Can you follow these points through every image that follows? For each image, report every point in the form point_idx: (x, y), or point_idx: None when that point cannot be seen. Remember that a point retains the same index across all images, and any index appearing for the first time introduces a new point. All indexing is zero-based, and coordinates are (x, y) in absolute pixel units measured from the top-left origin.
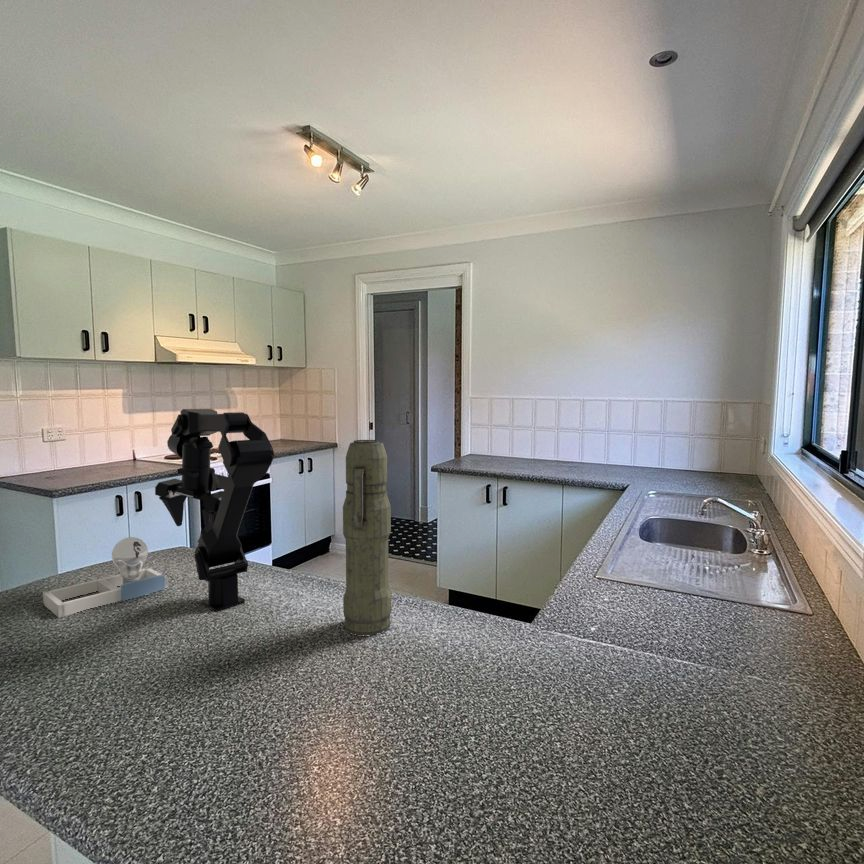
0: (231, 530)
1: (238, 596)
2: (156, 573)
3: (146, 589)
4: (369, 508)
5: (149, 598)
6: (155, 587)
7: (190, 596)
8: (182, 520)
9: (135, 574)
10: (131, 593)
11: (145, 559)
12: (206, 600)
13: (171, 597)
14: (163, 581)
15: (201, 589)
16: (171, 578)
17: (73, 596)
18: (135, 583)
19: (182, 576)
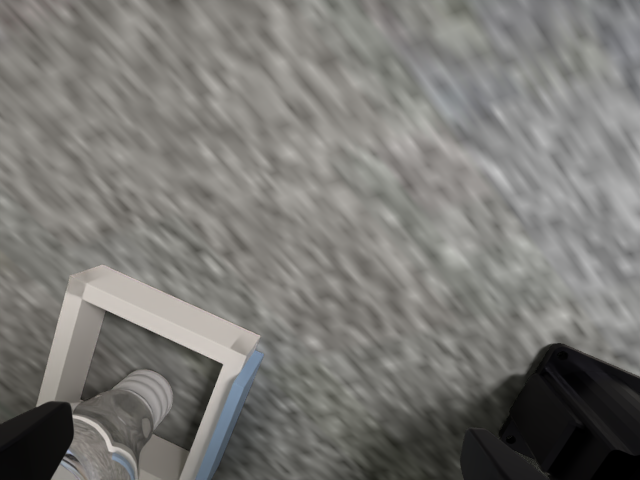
0: None
1: (626, 375)
2: (163, 328)
3: (235, 419)
4: None
5: (276, 426)
6: (246, 393)
7: (402, 383)
8: (32, 430)
9: (149, 436)
10: (219, 458)
11: (127, 446)
12: (516, 434)
13: (341, 404)
14: (251, 375)
15: (391, 314)
16: (184, 244)
17: None
18: (210, 473)
19: (206, 211)
